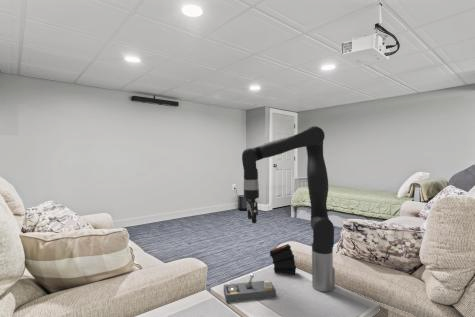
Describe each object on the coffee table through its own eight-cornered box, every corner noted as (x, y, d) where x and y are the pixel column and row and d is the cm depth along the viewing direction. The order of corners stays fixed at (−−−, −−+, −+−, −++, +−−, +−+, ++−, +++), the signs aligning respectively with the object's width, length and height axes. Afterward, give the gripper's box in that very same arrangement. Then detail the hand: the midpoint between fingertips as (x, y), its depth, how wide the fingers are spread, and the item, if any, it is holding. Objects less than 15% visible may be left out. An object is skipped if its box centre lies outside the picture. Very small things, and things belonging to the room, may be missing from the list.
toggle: (250, 283, 119) (253, 274, 119) (251, 285, 117) (254, 275, 118) (247, 282, 119) (250, 273, 119) (248, 284, 117) (251, 274, 117)
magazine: (301, 273, 134) (288, 245, 136) (278, 281, 138) (265, 254, 139) (302, 270, 138) (289, 243, 139) (279, 277, 141) (267, 251, 143)
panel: (269, 286, 125) (269, 278, 124) (275, 296, 116) (275, 288, 116) (223, 291, 121) (223, 283, 121) (226, 302, 112) (226, 293, 112)
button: (236, 291, 119) (236, 285, 119) (238, 296, 115) (238, 290, 115) (227, 292, 119) (227, 286, 119) (228, 297, 114) (228, 291, 114)
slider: (270, 285, 118) (270, 279, 118) (272, 288, 116) (272, 281, 116) (263, 286, 118) (263, 280, 118) (265, 288, 116) (265, 282, 116)
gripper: (262, 189, 124) (263, 224, 124) (254, 186, 138) (255, 216, 138) (247, 190, 123) (247, 225, 123) (240, 187, 137) (241, 218, 137)
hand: (252, 220), depth 131 cm, fingers open, 8 cm apart
